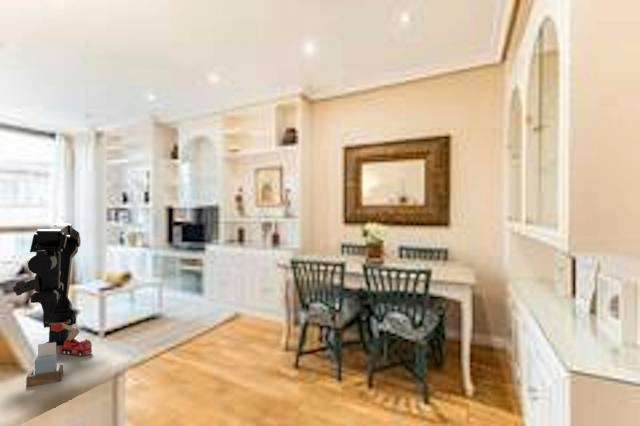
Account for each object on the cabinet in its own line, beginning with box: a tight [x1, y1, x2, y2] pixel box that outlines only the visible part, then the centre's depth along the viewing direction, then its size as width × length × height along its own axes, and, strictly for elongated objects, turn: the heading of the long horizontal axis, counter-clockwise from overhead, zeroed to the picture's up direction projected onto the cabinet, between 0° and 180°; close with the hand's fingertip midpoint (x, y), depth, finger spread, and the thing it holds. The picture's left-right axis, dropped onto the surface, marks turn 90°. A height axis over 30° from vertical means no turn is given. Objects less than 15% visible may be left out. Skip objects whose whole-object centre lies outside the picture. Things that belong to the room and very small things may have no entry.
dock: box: [25, 364, 64, 388], centre depth 104 cm, size 11×8×2 cm, turn 30°
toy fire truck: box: [51, 322, 93, 357], centre depth 120 cm, size 3×14×10 cm, turn 78°
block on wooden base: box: [34, 342, 58, 375], centre depth 101 cm, size 4×4×9 cm
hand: (47, 318), depth 114 cm, fingers closed
